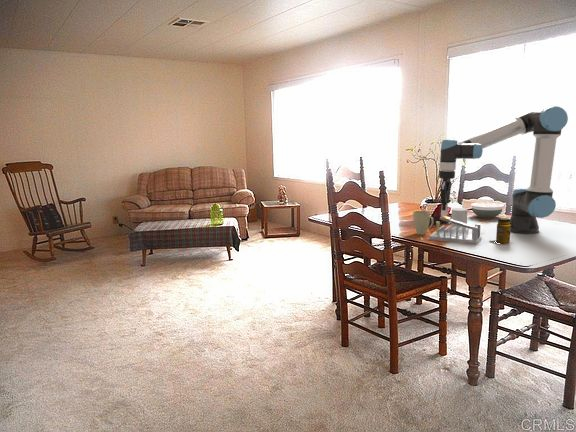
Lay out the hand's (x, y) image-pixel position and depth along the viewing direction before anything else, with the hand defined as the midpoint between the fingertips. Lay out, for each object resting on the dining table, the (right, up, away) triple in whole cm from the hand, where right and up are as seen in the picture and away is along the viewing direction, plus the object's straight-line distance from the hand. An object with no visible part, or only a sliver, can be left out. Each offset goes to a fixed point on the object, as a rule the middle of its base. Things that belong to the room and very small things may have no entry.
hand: (443, 215), depth 214 cm
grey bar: (+6, -5, -3) cm, 9 cm away
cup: (+15, -8, +18) cm, 25 cm away
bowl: (+45, -1, +47) cm, 65 cm away
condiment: (+24, -13, -10) cm, 30 cm away
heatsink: (+5, -12, -1) cm, 13 cm away
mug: (-6, -10, +13) cm, 18 cm away
